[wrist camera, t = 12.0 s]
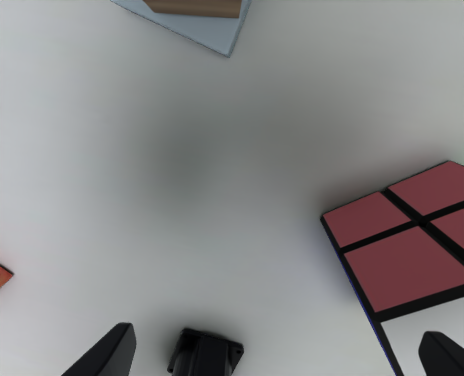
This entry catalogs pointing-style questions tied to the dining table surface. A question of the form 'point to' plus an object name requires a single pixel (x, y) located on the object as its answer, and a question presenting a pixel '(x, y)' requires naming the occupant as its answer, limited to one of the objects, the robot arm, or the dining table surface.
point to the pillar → (197, 7)
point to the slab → (195, 25)
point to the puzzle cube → (406, 260)
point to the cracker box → (4, 276)
